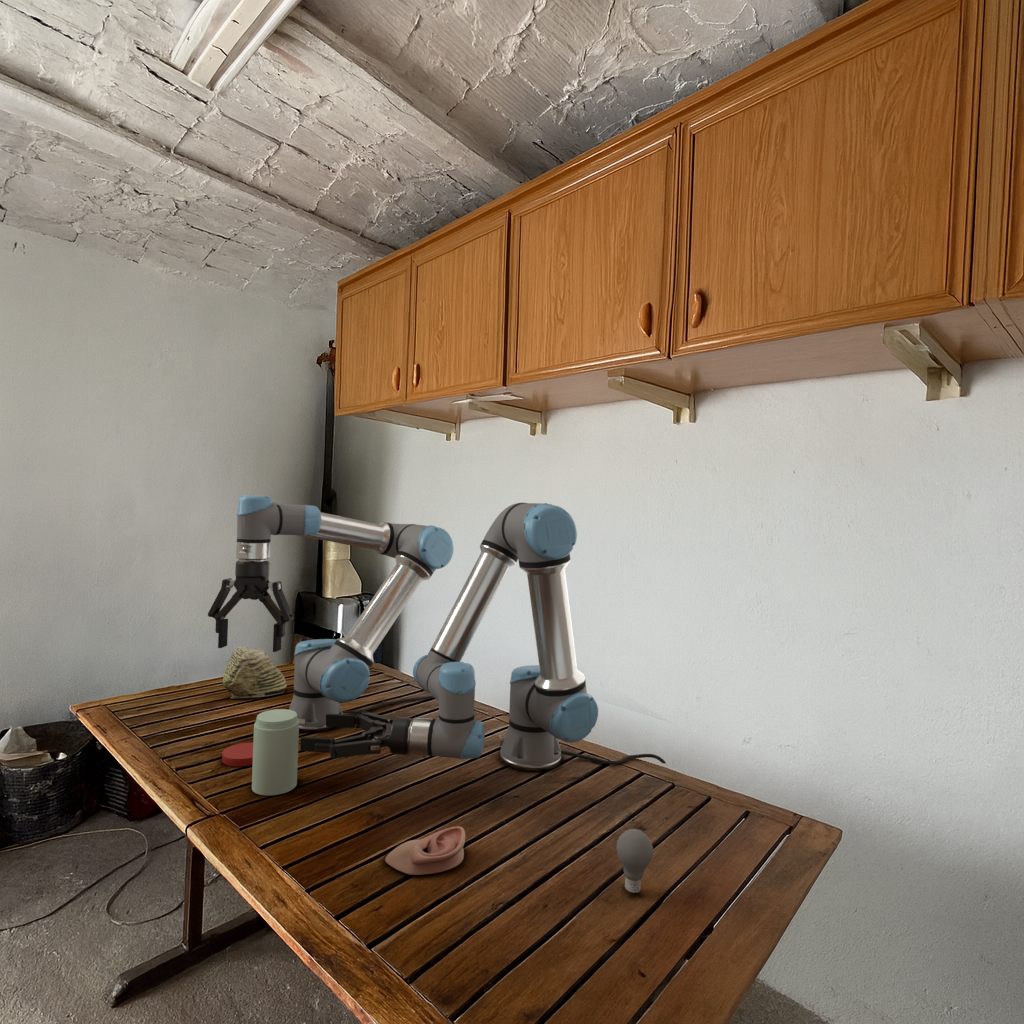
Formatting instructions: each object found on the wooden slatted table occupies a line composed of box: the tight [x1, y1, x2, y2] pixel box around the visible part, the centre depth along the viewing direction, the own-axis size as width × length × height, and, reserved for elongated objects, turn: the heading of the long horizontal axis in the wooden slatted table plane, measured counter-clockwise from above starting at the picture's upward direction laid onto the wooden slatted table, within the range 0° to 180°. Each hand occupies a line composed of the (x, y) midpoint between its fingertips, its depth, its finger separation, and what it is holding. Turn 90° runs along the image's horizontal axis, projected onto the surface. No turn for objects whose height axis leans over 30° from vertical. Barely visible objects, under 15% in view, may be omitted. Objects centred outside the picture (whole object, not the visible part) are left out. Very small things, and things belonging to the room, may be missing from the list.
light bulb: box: [615, 828, 654, 894], centre depth 106 cm, size 6×6×10 cm
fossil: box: [222, 646, 288, 699], centre depth 198 cm, size 9×18×15 cm, turn 132°
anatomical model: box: [384, 826, 466, 876], centre depth 113 cm, size 13×4×12 cm
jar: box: [251, 708, 300, 796], centre depth 138 cm, size 9×9×16 cm
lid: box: [221, 741, 253, 767], centre depth 151 cm, size 10×10×2 cm
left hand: (249, 648), depth 151 cm, fingers open, 13 cm apart
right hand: (314, 731), depth 136 cm, fingers open, 13 cm apart
